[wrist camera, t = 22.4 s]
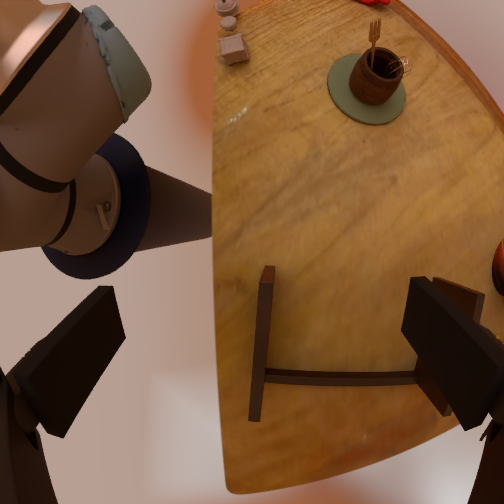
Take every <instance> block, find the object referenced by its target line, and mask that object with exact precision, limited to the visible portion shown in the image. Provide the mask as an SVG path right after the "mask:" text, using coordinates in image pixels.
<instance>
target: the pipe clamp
mask: <svg viewBox="0 0 504 504" xmlns="http://www.w3.org/2000/svg"><path fill="white" fill-rule="evenodd" d="M357 1H358V2H360V3H363V4H366V5H373V4H375V3H377V2H378V3H380V4H383V5H389V3H390V1H391V0H357Z"/></svg>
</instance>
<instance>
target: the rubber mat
mask: <svg viewBox="0 0 504 504" xmlns="http://www.w3.org/2000/svg"><path fill="white" fill-rule="evenodd" d="M362 55H363V54H350V55H347V56H344V57H342V58H340V59H339V60H337V61H336V62H335V63H334V64H333V66H332V67H331V69H330V71H329V74H328V79H327V84H328V90H329V93H330V96H331V98H332V100H333V101H334V103H335V104H336V106H337V107H338V108H339V109H340V110H341V111H342V112H343V113H344V114H346V115H347V116H349V117H350V118H352V119H354V120H356V121H358V122H361V123H364V124H369V125H381V124H385V123H388V122H390V121H392V120H394V119H395V118H396V117H397V116H398V115H399V114H400V113H401V111H402V110H403V107H404V104H405V90H404V86H403V83H402V81H400V84H399V87H398V88H397V90H396V91H395V92H394V94H393V95H392V96H391V97H390V98H389V99H388V100H387V101H386V102H385V103H383V104H380V105H368V104H365V103H363V102H361V101H359V100H358V99H357V98H356V97H355V96H354V95H353V93H352V92H351V89H350V86H349V78H350V75H351V72H352V70H353V68H354V66H355V64H356V62H357V60H358V59H359V58H360V57H361V56H362Z"/></svg>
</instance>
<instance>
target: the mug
mask: <svg viewBox="0 0 504 504" xmlns="http://www.w3.org/2000/svg"><path fill="white" fill-rule="evenodd" d="M492 276H493V282H494V285H495V287H496V289H497V291H498V292H499V293H500V294H501V295H503V296H504V240H503V241H502V242H501V243H500V244H499V246H498V248H497V250H496V252H495V255H494V259H493V266H492Z"/></svg>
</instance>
